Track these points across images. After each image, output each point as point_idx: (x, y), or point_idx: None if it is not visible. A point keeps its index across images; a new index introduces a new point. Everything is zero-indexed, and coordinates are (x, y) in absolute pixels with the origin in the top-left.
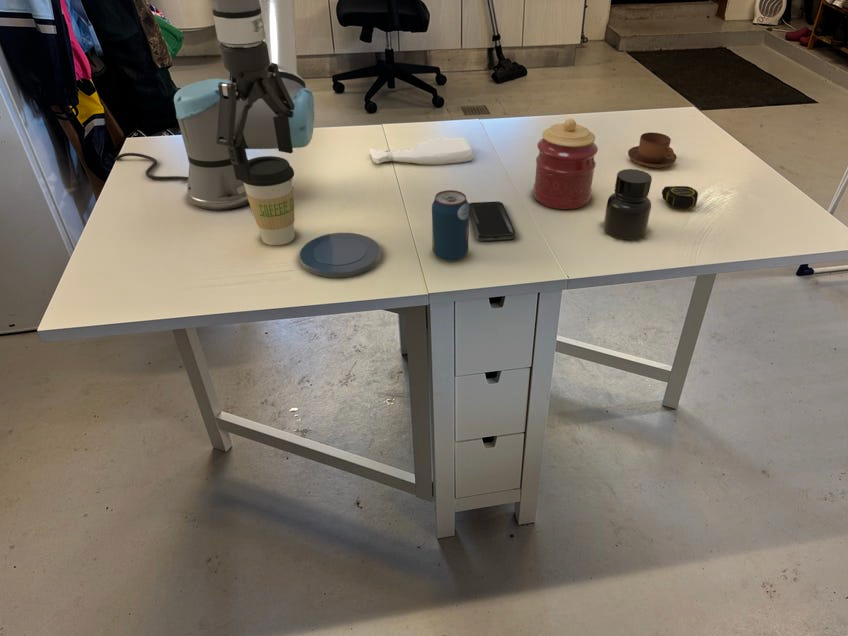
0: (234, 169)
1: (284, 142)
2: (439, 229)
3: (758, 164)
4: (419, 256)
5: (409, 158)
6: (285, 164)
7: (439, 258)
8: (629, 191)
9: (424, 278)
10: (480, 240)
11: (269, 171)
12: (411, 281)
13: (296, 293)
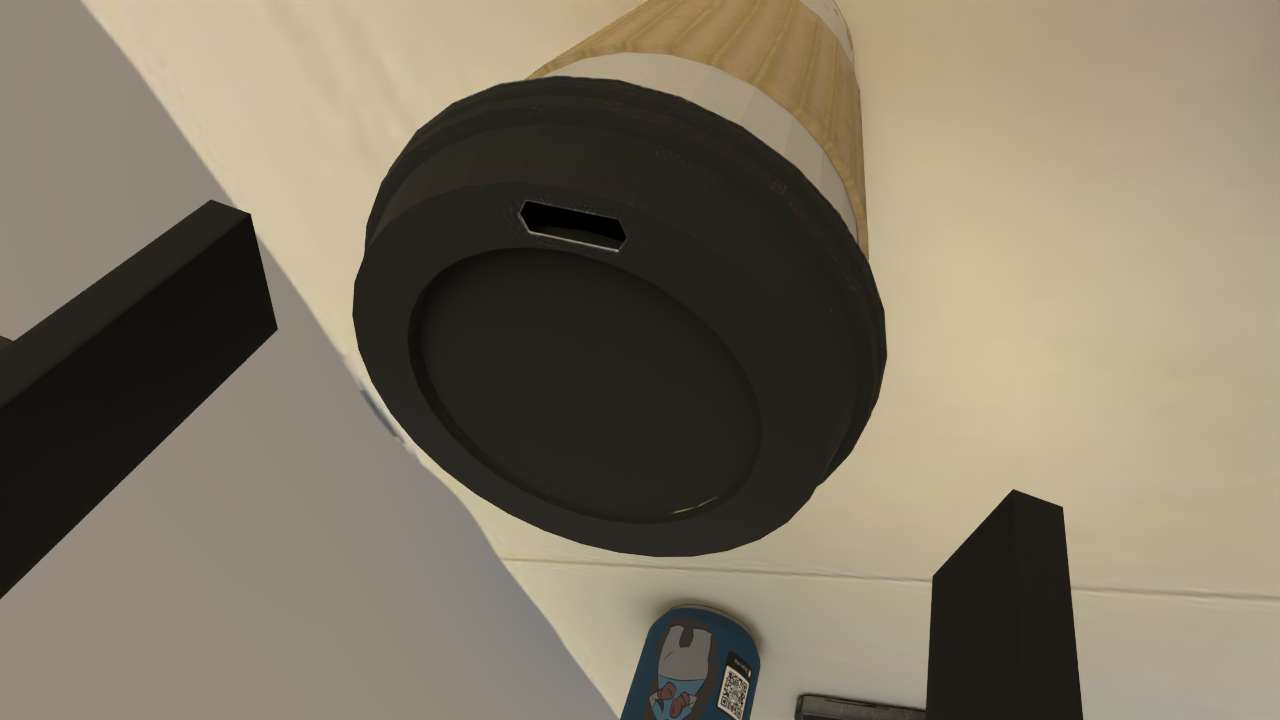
0: (124, 269)
1: (958, 657)
2: (624, 713)
3: None
4: (680, 570)
5: None
6: (640, 538)
7: (672, 608)
8: None
9: (561, 562)
10: (798, 698)
11: (492, 431)
12: (535, 537)
13: (336, 255)
